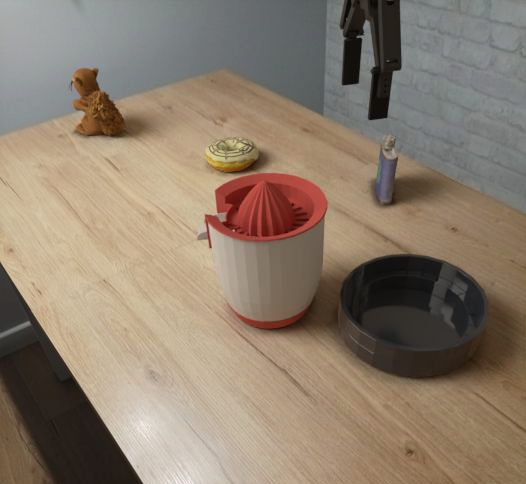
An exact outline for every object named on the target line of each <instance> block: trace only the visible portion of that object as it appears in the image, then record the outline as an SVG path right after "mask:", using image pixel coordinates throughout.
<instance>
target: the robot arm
mask: <svg viewBox="0 0 526 484" xmlns="http://www.w3.org/2000/svg"><path fill="white" fill-rule="evenodd" d="M366 21H367V22H368V23H369V27H370V36H371V37H370V38H371V43H372V53H373V60H374V66H372V68H371V69H370V71H369V72H370V74H371V79H370V90H369V101H368V110H367V111H368V112H367V120H368V121H377V120H384V119H388V117H389V116H388V115H389V109H390V100H391V99H390V98H391V92H392V83H393V74H394V72H397V71H398V72H399V71H401V70H402V66H403V64H402V63H403V62H402V61H403V60H402V59H403V58H402V33H401V32H402V31H401V30H402V29H401V28H402V27H401V0H344V1H343V5H342V11H341V16H340V21H339V28H340V30H341V31H342V37H343V49H342V65H341V66H342V68H341V85H342V86H343V87H344V86H350V85H359V84H360V75H361V73H360V72H361V61H362V50H363V49H362V47H363V38H362V37H361V36H365V29H364V26H365V23H366Z"/></svg>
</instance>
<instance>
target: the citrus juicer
mask: <svg viewBox="0 0 526 484" xmlns="http://www.w3.org/2000/svg"><path fill="white" fill-rule="evenodd" d="M214 195H215V205H216V213H214V214H207V213H206V214H205V213H204V220H203V223H202V225H201V228H200V229H199V231H198V233H197V236H196V241H205V240H207V242H208V248H209V250H210V249H211V252H212V258H213V265H214V270H215V273H216V274H215V275H216V279H217V282H218V284H219V287H220V289H221V292H222V294H223V296H224V298H225V300H226V302H227V305H228V306H229V308H230V309H231V310H232V312H233V313H234V314H235V316H236V317H237V318H238V319H239V320H240V321H242V322H244V323H245V324H247V325H249V326H252V327H255V328H258V329H259V328H260V329H278V328H279V329H280V328H283V327H286V326H289V325H292V324H294V323H296V322H297V321H299V320H300V319H302V317H303V316H305V314H306V313H307V312H308V310H309V308H310V307H311V305H312V303H313V302H314V299H315V296H316V293H317V290H318V288H319V284H320V281H321V276H322V273H323V264H324V247H325V246H324V244H325V242H324V241H325V221H326V220H325V219H326V217H325V216H326V213H327V211H328V199H327V197H326V194H325V193H324V191H323V190H322V189H321V188H320V187H319V186H317V184H315V183H314V182H312V181H310V180H308V179H306V178H304V177H300V176H297V175H293V174H290V173H289V174H288V173H282V172H281V173H279V172H261V173H252V174H248V175H243V176H239V177H237V178H233V179H231V180H229V181H226V182H224V183H223V184H221V185H220V186H218V187H217V188H216V189H214Z"/></svg>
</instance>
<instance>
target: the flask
mask: <svg viewBox="0 0 526 484" xmlns="http://www.w3.org/2000/svg"><path fill="white" fill-rule="evenodd" d="M396 140H397V138H396V136H394V135H391V134H385V135H383V137H382V139H381V142H380V147H379V148H380V149H379V155H378V163H377V172H376V178H375V183H374V193H375V197H376V201H378V203H379V204H380V205H382V206H383V205H390V204H391V203H392V200H393V193H394V187H395V178H396V173H397V168H398V167H397V166H398V161H399V154H398V153H397V150H396V145H395V144H396Z"/></svg>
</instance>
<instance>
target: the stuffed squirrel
mask: <svg viewBox="0 0 526 484" xmlns="http://www.w3.org/2000/svg"><path fill="white" fill-rule="evenodd" d="M98 74H99V68H98V67H92V68H88V67H81V68H78V69H76V70H75V71H74V72H73V75H72V79H71V80H70V83H69V86H68V91H71V92H72V91H73V88H72V86H73V87H74V89H75V91H76V92H77V93H78V95H79V96H80V98H78V99H73V101H72V108H73V109H74V110H75V111H82V112H83V113H84V115H83V117H82V118H81V119H80V123H78V124H77V125H76V126H75V131H76V132H78V133H79V134H82V135H85V136H97V135H103V134H104V135H105V136H107V137H114V136H115V135H118V134H121V133H122V132H123V131H124V130H125V128H126V127H125V126H126V125H127V123H125V121H124V117H123V115H122V114H121V112H120V110H119V108H117V106H116V104H115V102H114V100H112V99H110V93H107V92H106V91H104V90H102V91H101V88H100V85H99V82H98V80H97V78H98Z"/></svg>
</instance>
